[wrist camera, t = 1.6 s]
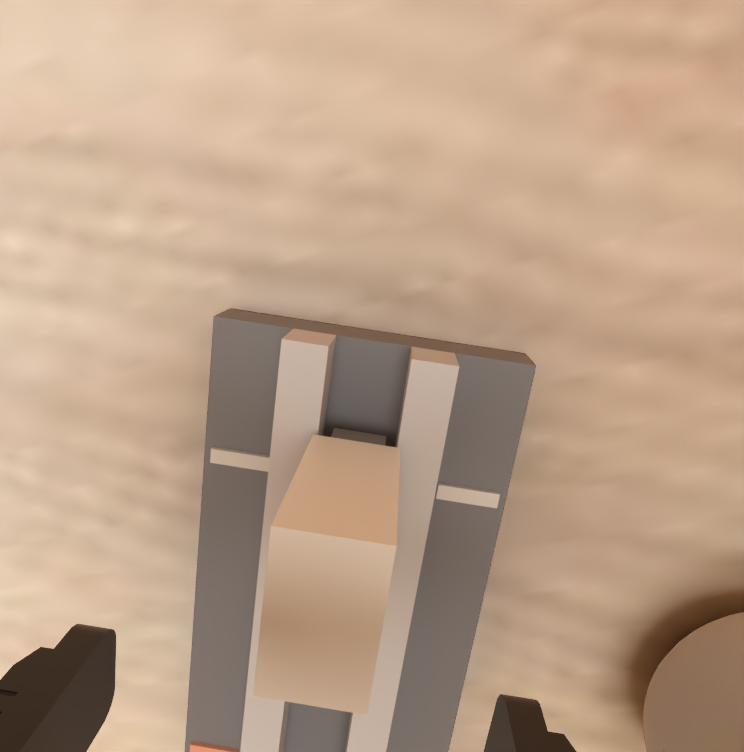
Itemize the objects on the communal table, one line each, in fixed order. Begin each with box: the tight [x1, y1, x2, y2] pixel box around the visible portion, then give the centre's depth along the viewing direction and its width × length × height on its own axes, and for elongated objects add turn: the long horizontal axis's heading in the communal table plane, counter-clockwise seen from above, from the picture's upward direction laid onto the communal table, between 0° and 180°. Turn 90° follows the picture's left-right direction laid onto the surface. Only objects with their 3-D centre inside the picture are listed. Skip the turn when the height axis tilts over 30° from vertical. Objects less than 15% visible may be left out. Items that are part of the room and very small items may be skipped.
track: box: [185, 309, 536, 752], centre depth 24 cm, size 12×27×4 cm, turn 172°
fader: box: [253, 428, 401, 715], centre depth 18 cm, size 3×5×8 cm, turn 172°
